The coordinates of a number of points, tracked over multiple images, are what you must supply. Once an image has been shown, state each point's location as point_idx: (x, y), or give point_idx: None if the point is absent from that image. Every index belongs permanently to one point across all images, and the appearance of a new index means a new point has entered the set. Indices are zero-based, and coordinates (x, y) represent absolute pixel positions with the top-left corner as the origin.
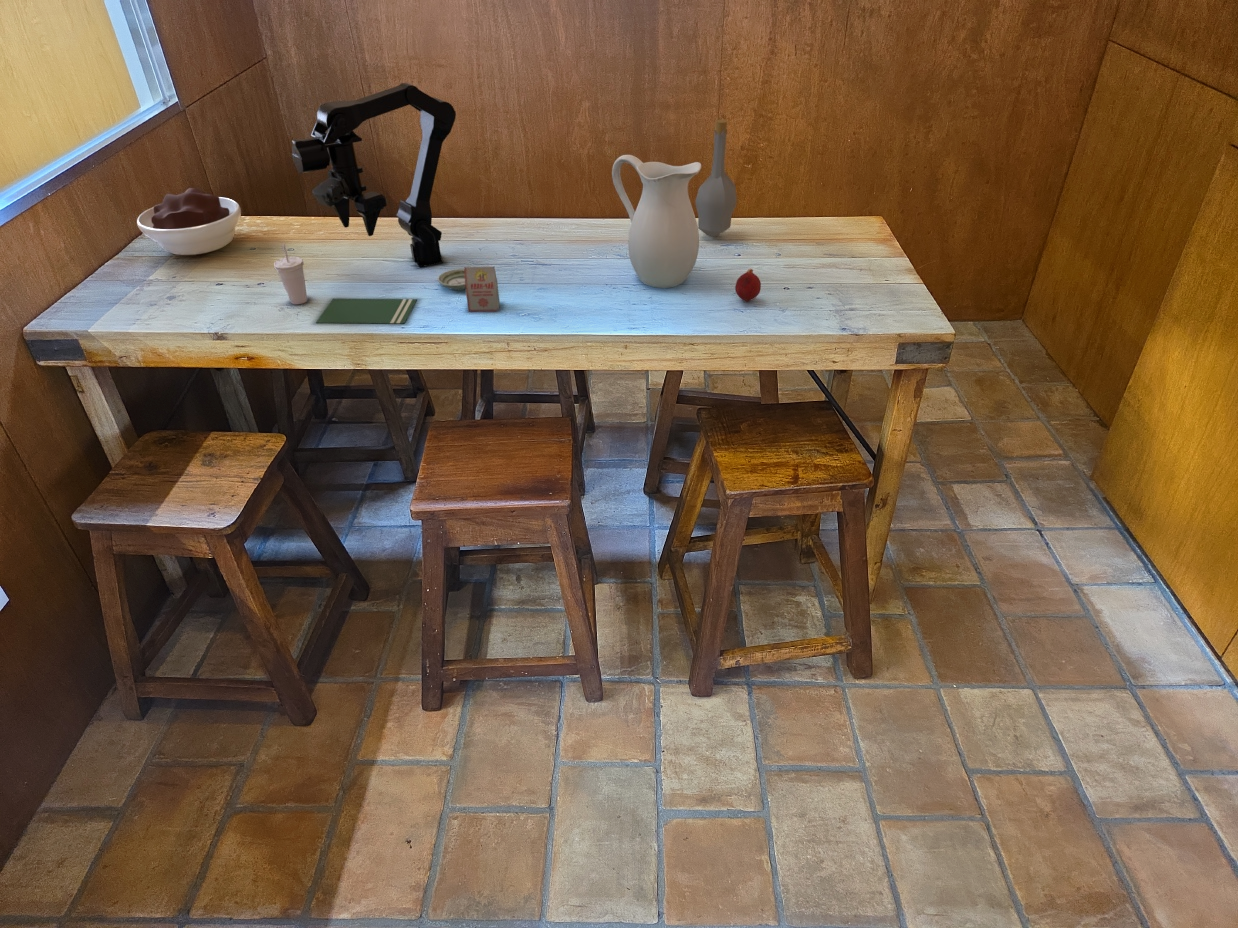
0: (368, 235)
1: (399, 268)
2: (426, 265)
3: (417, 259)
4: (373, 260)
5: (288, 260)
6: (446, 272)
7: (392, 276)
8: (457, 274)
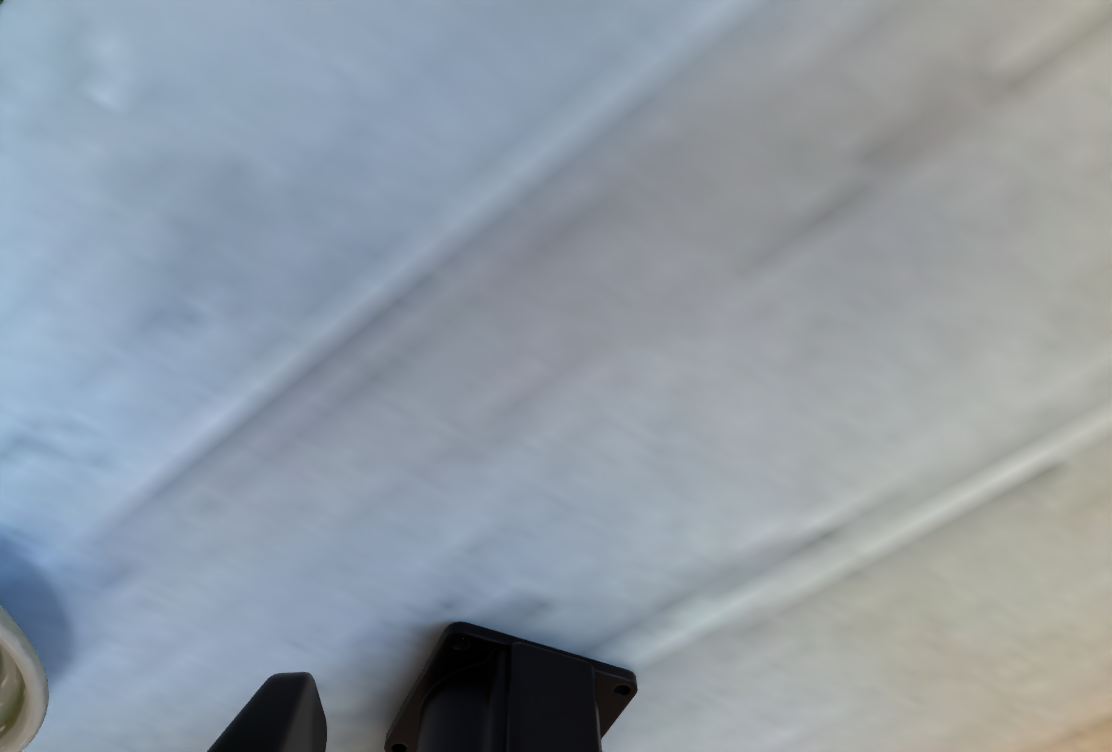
0: (295, 684)
1: (578, 528)
2: (429, 662)
3: (497, 676)
4: (912, 491)
5: None
6: (22, 673)
7: (481, 410)
8: (13, 698)
